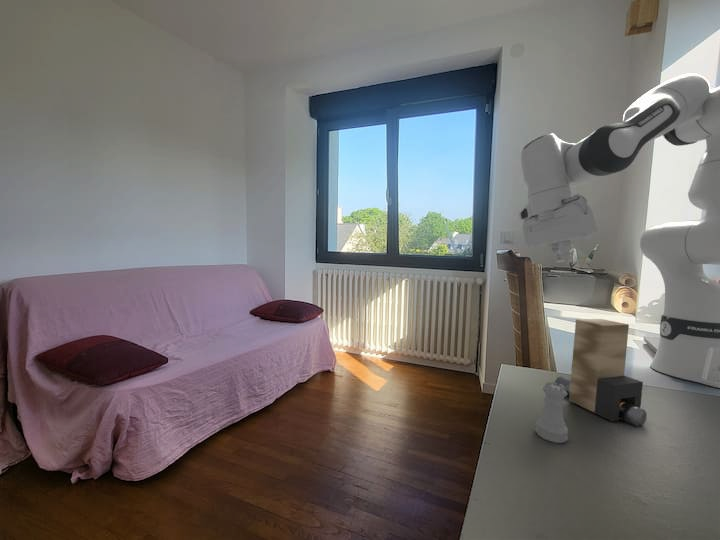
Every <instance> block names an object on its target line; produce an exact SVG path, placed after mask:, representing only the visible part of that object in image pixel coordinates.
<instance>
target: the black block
mask: <svg viewBox="0 0 720 540" xmlns="http://www.w3.org/2000/svg"><path fill="white" fill-rule="evenodd" d="M643 384H644V381H641V380H639V379H635V378H632V377H630V376H626V375H624V376H617V377H608V378H599V379H598V380H597V391H596V402H595V413H594V414H596V415H598V416H600V417H602V418H604V419H607V420H608V421H611V422H615V421H616V422H617V421H620V420H619V419H620V418H619V411H620V400H621V401H624V402H626V403H629V404H631V405H634V406H636V407H639V408H641V406H642V405H641V404H642V394H643Z"/></svg>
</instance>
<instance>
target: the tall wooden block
mask: <svg viewBox="0 0 720 540" xmlns="http://www.w3.org/2000/svg"><path fill="white" fill-rule="evenodd" d="M574 326H575V327H574V328H575V329H574V337H573V338H574V339H573V350H572V361H571V362H572V363H571V373H570V380H571V383H570V394H569V395H568V401H569V400H570V401H569V402H571V403H573V404H575V403H576V404H575V405H577V406H580V407H581V408H583V409H586V410H588V411H590V412H593V413H594V414H596V413H595V402H596V391H597V380H598V379H599V378H608V377H617V376H625V369H626V359H627V348H628V339H629V338H628V336H629V329H630V324H628V323H624V322H623V323H622V322H618V321H614V320H607V319H605V318H589V319H587V318H585V319H575V325H574Z"/></svg>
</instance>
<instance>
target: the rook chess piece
mask: <svg viewBox="0 0 720 540" xmlns="http://www.w3.org/2000/svg"><path fill="white" fill-rule="evenodd" d="M542 390H543V392H544V393H545V396H544V397H543V401H544V406H543V410H542V413H541V415H540V416H539V419H537V420H536V422H535V424H536V427H535V432H536V434H537V436H538V437H539V438H542V439H543V440H545V441H547V442H550V443H554V444H564V443H565V442H567V441H568V440H569V435H568V433H569V431H568V430H569V429H568V426H566V422H565V419H564V405H565V401H564V400H565V397H567V396H569V395H568V394H567V392H566V391H565V386H563V385H562V384H559V386H556V383H555V381H554V382H550V381H548V382H547V381H546V382H545V386H544V387H543V388H542Z"/></svg>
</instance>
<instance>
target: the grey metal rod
mask: <svg viewBox="0 0 720 540" xmlns="http://www.w3.org/2000/svg"><path fill="white" fill-rule="evenodd" d="M554 382H555V383H556V386H559V384H562V385H563V386H565V391H566V392H567V394H570V383H571V378H570V379H569V378H567V377H565V376H560V375H559V376H558V377H556V379H555V380H554ZM619 419H620V420H623V421H624V422H626V423H629V424H631V425H634V426H636V427H637V428H640V427H642V426H643V425H644V424H646V421H647V412H646V410H645V409H643V408H641V407H640V408H639V407H636V406H634V405H631V404H629V403H626V402H624V401H621V400H620V411H619Z"/></svg>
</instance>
